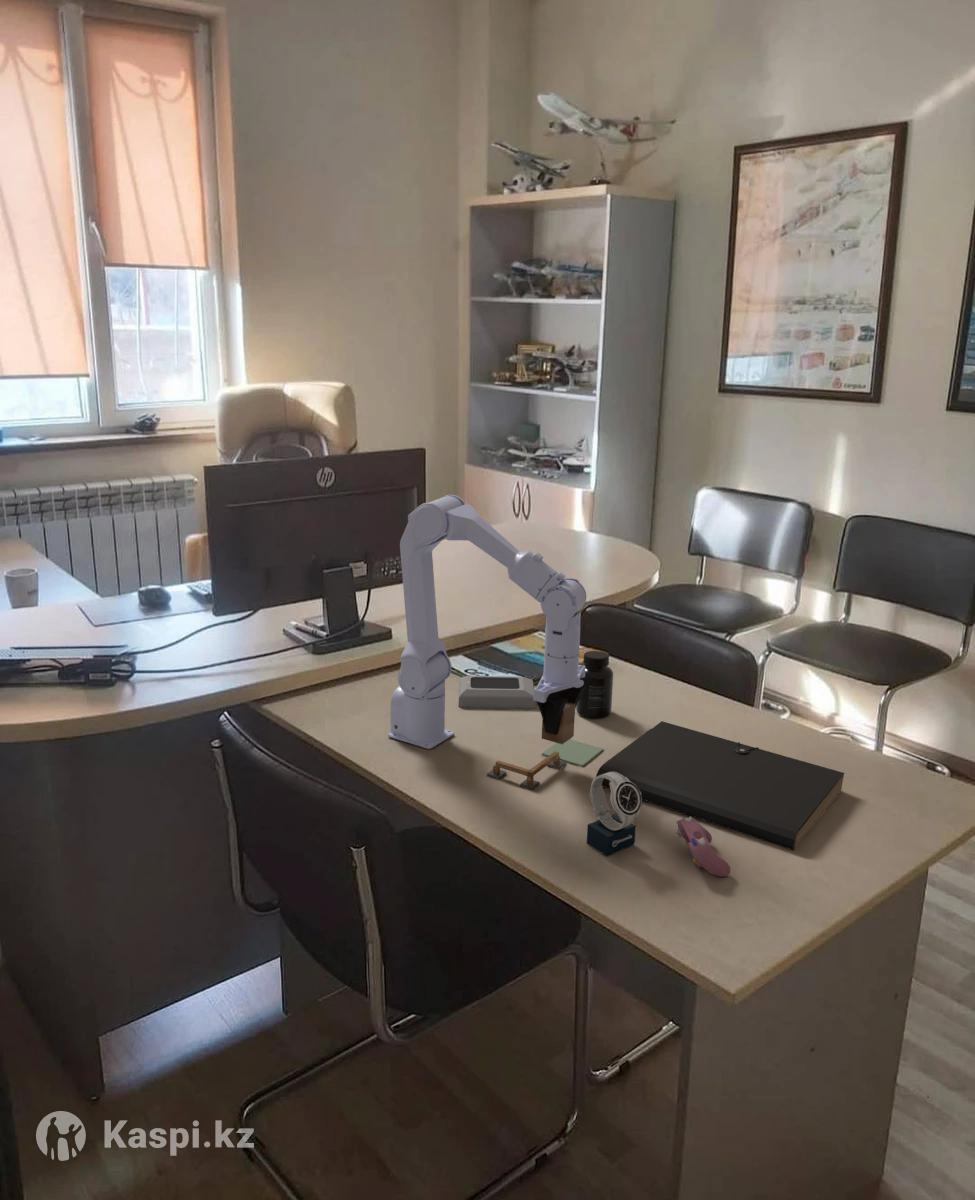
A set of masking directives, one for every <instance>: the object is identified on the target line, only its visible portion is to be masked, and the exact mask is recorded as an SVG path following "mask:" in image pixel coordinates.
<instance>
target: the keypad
mask: <svg viewBox="0 0 975 1200" xmlns="http://www.w3.org/2000/svg"><path fill="white" fill-rule="evenodd" d="M458 682H459V683H458V707H459V708H503V709H507V708H508V709H509V708H512V709H513V708H515V709H536V701H534V700H533V694H534V689H535V685H534V681H533V679H531V678H528V677H525V676H507V675H506V676H504V675H503V676H499V675H498V676H495V675H493V676H492V675H466V676H462V677H461V678H460V679H459V680H458ZM516 707H517V708H516Z"/></svg>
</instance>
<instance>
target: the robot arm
mask: <svg viewBox="0 0 975 1200" xmlns="http://www.w3.org/2000/svg"><path fill="white" fill-rule="evenodd" d="M407 521H408V522H407V524H406V527H405V528H404V532H403V534H402V536H401V538H400V541H399V551H400V564H401V571H402V572H401V573H402V575H401V576H402V586H403V588H402V589H403V598H404V609H405V611H404V612H405V625H406V626H405V627H406V635H407V642H406V645H405V646H404V648H403V651H402V653H401V655H400V667H399V670H398V673H397V682H398V685H399V686H398V687H397V688H396V689H395V690H394V692H393V694H392V696H391V699H390V731H389V733H388V734H387V737H388V738H391V739H394V740H398V741H402V742H405V743H408V744H410V745H411V744H412V745H415V746H417V747H420V748H424V749H426V750H427V749H428V750H430V749H433V748H434V747H436V746H438V745H439V744H441V743H443V742H444V741H446V740H447V739H449V738H451V737H453V736H454V735H455V732H454V730H453V731H452V730H450V729H447V728H445V726H446V725H445V721H446V720H445V714H446V679H448V678H449V677H450V676H451V673H452V662H451V659H450V658H449V656H448V653H447V651H446V644H445V642H444V641H443V640H442V639H441V638H440V637H439V629H438V613H437V602H436V601H437V600H436V587H435V576H434V573H435V572H434V563H433V561H434V559H433V550H435V549H436V547H438V545H439V544H441V542H442V541H443V540H444V539H445V538H446V540H447V541H469V542H470V543H472V545H474V546H476V547H477V548H478V549H480V550H481V551H482V552H484V553H486V554H487V555H489V556H490V557H491V558H493V559H494V560H495V561H497V562H498V563H500V564H501V565H502V566H504V567H506V568H507V575H508V578H509V579H510V580H511V581H512V582H513V583H514V584H516V586H518V587H519V588H520V589H522V590H523V591H525V593H526V594H528V596H529V595H530V597H532V598H533V599H534V600H536V602H539V603H540V607H541V611H542V613H543V614H544V616H545V617H546V619H545V634H544V651H543V652H544V653H543V654H544V656H543V673H542V676H541V678H540V680H539V681H538V684H537V686H536V687H534V694H533V700H534V701H536V702H535V704H536V705H537V707H538V710H539V711H540V715H541V720H542V719H543V724H544V728H545V732H547V733H550V734H554V735H556V734H558V731H559V727H560V721H561V715H562V712H563V709H564V706H565V704H566V702H571V703H575V710H576V706H577V703H578V701H579V699H580V697H581V695H582V693H583V692H584V690H585V684H584V681H583V680H580V678H583V677H585V666H583V665H581V664H579V663H580V662H579V661H580V659H579V658H580V657H579V656H580V644H581V643H580V642H581V639H580V638H581V616H582V615H581V614H582V612H581V611H580V610H581V609H582V608H583V607H584V606H585V603H586V602H587V601H586V600H587V591H586V588H585V587H584V586H583V584H581V582H580V580H579V579H577V578H574V577H567V576H566V575H565V573H563V572H558V571H557V570H556V569H554V568H553V567H552V566H550V565H549V564H548V563H547V562H545V561H544V560H543V559H544V556H543V555H542V554H540V553H539V552H537V553H534V552H532V551H531V550H530V551H529V550H528V551H520V550H519V549H518V548H517V547H515V546H514V545H513V544H512V543H511V542H510V541H508V540H507V538H505V537H504V536H503V535H502V534H501V533H499V532H498V531H497V530H496V529H495V528H494V527H493V526H492V525H491V524H490V523H488V522H487V521H486V520H484V518H483V517H481V516H480V515H479V513H478V512H477V510H476V509H475V508H474V506H473V505H470V504H469V503H466V502H465V501H464V500H463V499H462V498H461V497H460V496H458V495H456V494H446V495H444V496H442V497H441V498H437V499H435V500H432V501H430V502H424V503H422V504H420V505H418V506H417V507H416V508H415V509H414V510H413V511H411V512H410V513H409V514H408V515H407Z"/></svg>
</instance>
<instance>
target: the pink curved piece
mask: <svg viewBox="0 0 975 1200" xmlns="http://www.w3.org/2000/svg"><path fill="white" fill-rule="evenodd" d="M676 824H677V825H676V826H677V829H675V834H676V836H677V837H678V838H679V839H681V838H682V839H684V841H685V843H686V845H687V847H688V849H689V851H690V853H691V856H692V858H693V859H692V863H694V865H697V866H698V868H699V869H704V870H705V871H707V872H708V873H710V874H711V875H714V876H716V877H720V878H724V877H725V878H726V877H728V876H729V875H730V874H731V865H729V863H728V862H727V861H726V860H725V859H723V858H722V857H721V856H720V855H718V854H717V853H716V852H715V850H714V849H713V848H712V846H711V844H710V843H712V841H713V839H712V838H713V837H712V834H711V833H710V832H709V831H708V830H707V829H706V828H704V827H703V826H702V825H701V824H700V823H699V822H698V821H697V820H696V819H695V818H694V817H692V816H690V815H689V817H683V818H680V819H679V820H677V821H676Z"/></svg>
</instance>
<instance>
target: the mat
mask: <svg viewBox="0 0 975 1200" xmlns="http://www.w3.org/2000/svg"><path fill="white" fill-rule="evenodd" d="M555 751H556V752H559V756H560V761H564V762H566V763H569V764H572V765H576V766H578V767H582V768H583V767H584V766H586V765H587V764H588V763H590V761H592V760H593V759H594V758H595V757H597V756H598V755H599V754H601V752H604V748H603V747H599V746H596V745H591V744H588V743H585V742H581V741H577V740H573V739H572V738H571V739H569V740H568V741H566V742H565V743H564V744H559V743H556V742H554V744H552V745H551V746H549V748H547V749H545V751H543V752H541V755H542V756H545V757H548V756H549V755H550V754H552V753H553V752H555Z"/></svg>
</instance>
